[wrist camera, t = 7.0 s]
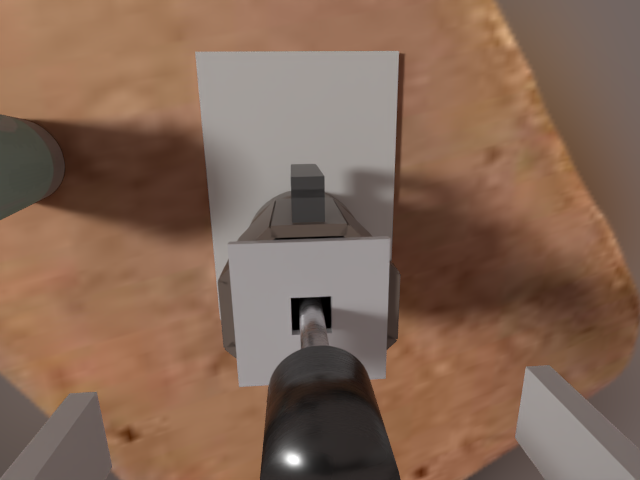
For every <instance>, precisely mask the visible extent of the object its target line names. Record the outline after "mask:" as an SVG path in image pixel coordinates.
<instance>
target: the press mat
mask: <svg viewBox="0 0 640 480" xmlns="http://www.w3.org/2000/svg"><path fill="white" fill-rule="evenodd" d="M195 54H196V65H197V75H198V86H199V97H200V108H201V118H202V129H203V140H204V151H205V162H206V172H207V183H208V194H209V205H210V215H211V226H212V237H213V248H214V259H215V269H216V280H217V291H218V279H219V277H220V275H221V273H222V271H223V269H224V267H225V265H226V263H227V261H228V259H229V258H228V246H227V244H228V242H230V241H237V240H238V238H239V237H240V236H241V235H242V234H243V233H244V232H245V231H246V230H247V229H248V228H249V226H250V224H251V222H252V220H253V218H254V216H255V215H256V213H257V212H258V211H259V209H260V208H261V207H262V206H263V205H264V204H265V203H266V202H268V201H269V200H271V199H272V198H274V197H276V196H277V195H279V194H282V193H285V192H287V191H291V164H316V165H317V166H318V168H319V169H320V171H321V172H322V173H323V175H324V176H325V193H326V194H328V195H331V196H333V197H334V198H336V199H337V200H339V201H340V202H341V203H342V204H344V205H345V206H346V207H347V209H348V210H349V211H350V212H351V214H352V215H353V216H354V218H355V219H356V220H357V221H358V222H359V223H360V224H361V225H362V226H363V227H364V228H365V229H366V230H367V231H368V232H369V233H370V234H371V235H372V236H373V237H379V236H388V237H389V238H390V260H392V232H393V204H394V176H395V148H396V120H397V92H398V64H399V51H296V52H195ZM218 302H219V291H218ZM219 312H220V302H219ZM220 320H221V313H220Z"/></svg>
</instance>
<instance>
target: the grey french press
mask: <svg viewBox="0 0 640 480" xmlns="http://www.w3.org/2000/svg"><path fill="white" fill-rule="evenodd" d="M227 246H228V258H229V259H228V261H227V263H226V265H225V267H224V269H223V271H222V273H221V275H220V277H219V279H218V291H219V302H220V313H221V324H222V335H223V345H224V348H225V350H226V351H227V352H229V353H230V354H231V355H233V356H234V357H235V358H237V367H238V379H239V387H244V386H262V385H269V382H270V378H271V376H272V374H273V372H274V370H275V369H276V367H277V366H278V365H279V364H280V363H281V361H283V360H284V359H285V358H286V357H287V356H289V355H290V354H292V353H294V352H296V351H298V350H300V349H301V342H300V318H299V298H303V297H321V302H322V307H323V313H324V319H325V325H326V330H327V336H328V342H329V346H333V347H337V348H340V349H343V350H346V351H347V352H349V353H351V354H352V355H354V356H355V357H356V358H357V359H358V360H359V361H360V362H361V363H362V364H363V365H364V367H365V369H366V371H367V373H368V375H369V378H370V379H386V350H387V349H388V348H389V347H391V346H392V345H393V344H394V343H395V342H396V341H397V340H396V339H398V319H399V296H400V273H399V271H398V270H397V268H396V267H395V266H394V264H393V263H392V262H391V260H390V238H389V237H388V236H379V237H373V236H372V235H371V234H370V233H369V232H368V231H367V230H366V229H365V228H364V227H363V226H362V225H361V224H360V223H359V222H358V221H357V220H356V219H355V218H354V216H353V215H352V214H351V212H350V211H349V210H348V209H347V207H346V206H345V205H344V204H342V203H341V202H340V201H339V200H337V199H336V198H334V197H333V196H331V195H328V194H326V193H325V176H324V175H323V173H322V172H321V171H320V169H319V168H318V166H317V165H316V164H291V191H287V192H285V193H282V194H279V195H277V196H276V197H274V198H272V199H271V200H269V201H268V202H266V203H265V204H264V205H263V206H262V207H261V208H260V209H259V211H258V212H257V213H256V215H255V216H254V218H253V220H252V222H251V224H250V226H249V228H248V229H247V230H246V231H245V232H244V233H243V234H242V235H241V236H240V237H239V238H238V240H237V241H230V242H228V244H227Z"/></svg>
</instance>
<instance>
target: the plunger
mask: <svg viewBox="0 0 640 480" xmlns="http://www.w3.org/2000/svg"><path fill="white" fill-rule="evenodd" d="M299 318H300V342H301V349H300V350H298V351H296V352H294V353H292V354H290V355H289V356H287V357H286V358H285V359H284V360H283V361H281V363H280V364H279V365H278V366H277V367H276V369H275V370H274V372H273V374H272V376H271V378H270V382H269V387H268V396H267V407H266V418H265V430H264V441H263V452H262V463H261V474H260V480H400V475H399V471H398V468H397V465H396V461H395V458H394V455H393V452H392V449H391V445H390V442H389V439H388V436H387V433H386V430H385V426H384V423H383V420H382V417H381V414H380V410H379V407H378V404H377V401H376V398H375V394H374V391H373V388H372V385H371V382H370V378H369V375H368V373H367V371H366V369H365V367H364V365H363V364H362V363H361V362H360V361H359V360H358V359H357V358H356V357H355V356H354V355H352V354H351V353H349V352H347V351H346V350H343V349H340V348H337V347H333V346H329V342H328V336H327V330H326V325H325V319H324V313H323V307H322V302H321V297H303V298H299Z"/></svg>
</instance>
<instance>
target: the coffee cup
mask: <svg viewBox="0 0 640 480" xmlns="http://www.w3.org/2000/svg"><path fill="white" fill-rule="evenodd" d="M64 171H65V163H64V158H63V154H62V151H61V149H60V147H59V145H58V144H57V142H56V141H55V139H54V138H53V137H52V136H51V135H50V134H49V133H48V132H47V131H46V130H45V129H43V128H42V127H40V126H39V125H37V124H35V123H33V122H30V121H27V120H24V119H19V118H15V117H10V116H6V115H1V114H0V220H1V219H3V218H6V217H8V216H10V215H12V214H14V213H16V212H18V211H20V210H22V209H24V208H26V207H28V206H30V205H32V204H34V203H36V202H38V201H40V200H42V199H43V198H45V197H47V196H49V195H51V194H52V193H53V192H55V190H56V189H57V188H58V187H59V185H60V184H61V182H62V179H63V176H64Z"/></svg>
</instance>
